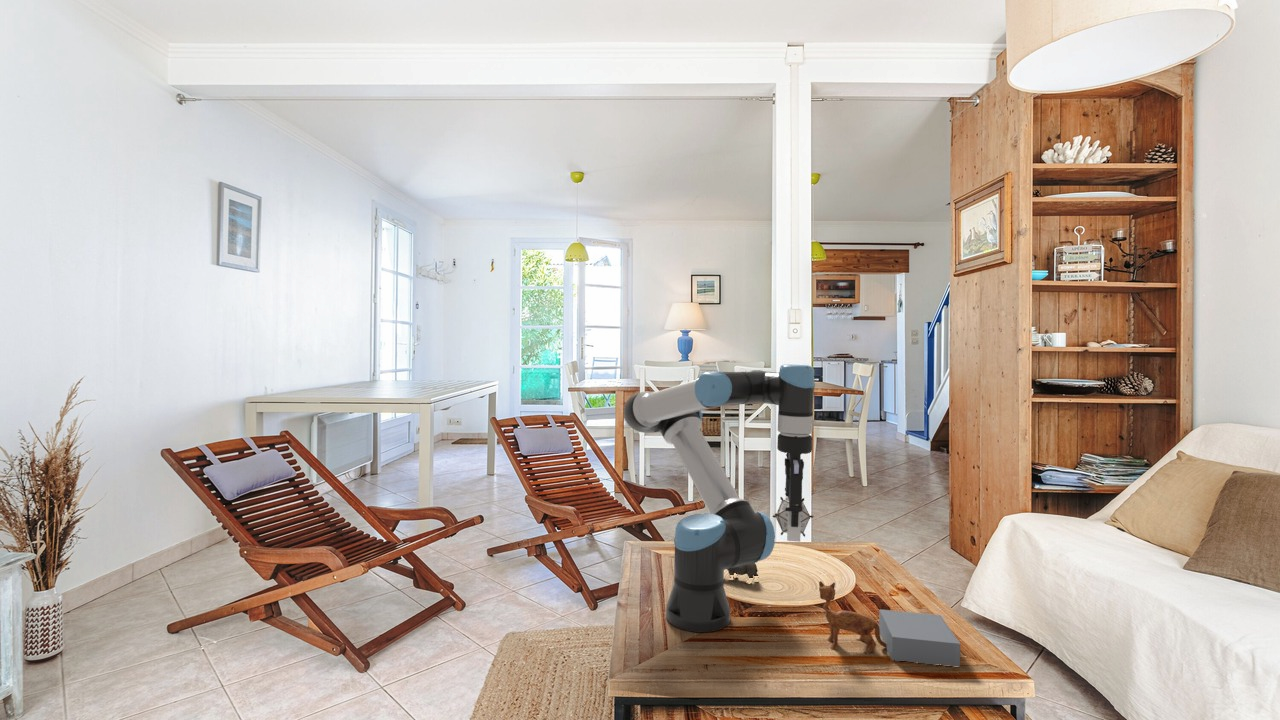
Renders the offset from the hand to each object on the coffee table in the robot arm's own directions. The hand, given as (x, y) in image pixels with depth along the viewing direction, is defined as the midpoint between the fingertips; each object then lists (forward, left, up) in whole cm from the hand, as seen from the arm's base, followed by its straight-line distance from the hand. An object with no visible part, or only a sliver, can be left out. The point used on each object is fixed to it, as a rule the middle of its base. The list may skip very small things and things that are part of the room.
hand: (792, 532), depth 134 cm
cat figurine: (+15, -3, -23) cm, 28 cm away
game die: (0, 0, 0) cm, 0 cm away
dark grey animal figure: (-13, +28, -23) cm, 39 cm away
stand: (+27, -1, -23) cm, 35 cm away
